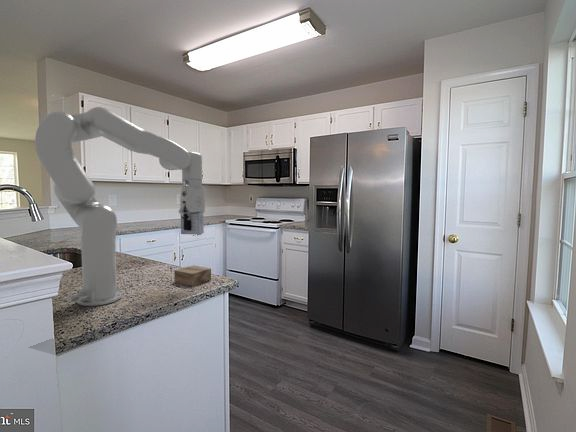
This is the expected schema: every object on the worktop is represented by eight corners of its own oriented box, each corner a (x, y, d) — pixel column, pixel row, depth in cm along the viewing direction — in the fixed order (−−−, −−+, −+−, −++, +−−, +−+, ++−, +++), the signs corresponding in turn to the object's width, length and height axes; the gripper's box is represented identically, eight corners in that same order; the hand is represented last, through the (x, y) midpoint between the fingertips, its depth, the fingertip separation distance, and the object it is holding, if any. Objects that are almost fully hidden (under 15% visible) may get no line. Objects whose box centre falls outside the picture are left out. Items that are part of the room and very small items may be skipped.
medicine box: (204, 233, 126) (203, 212, 125) (199, 235, 122) (199, 213, 121) (185, 233, 127) (185, 211, 126) (180, 234, 122) (180, 212, 122)
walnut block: (192, 286, 119) (192, 273, 118) (174, 282, 124) (174, 270, 123) (211, 280, 128) (211, 268, 127) (193, 276, 132) (193, 265, 132)
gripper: (185, 183, 113) (186, 232, 115) (212, 184, 130) (212, 227, 131) (169, 183, 116) (169, 231, 117) (197, 184, 132) (197, 227, 133)
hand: (192, 229), depth 124 cm, fingers closed on medicine box, 5 cm apart
